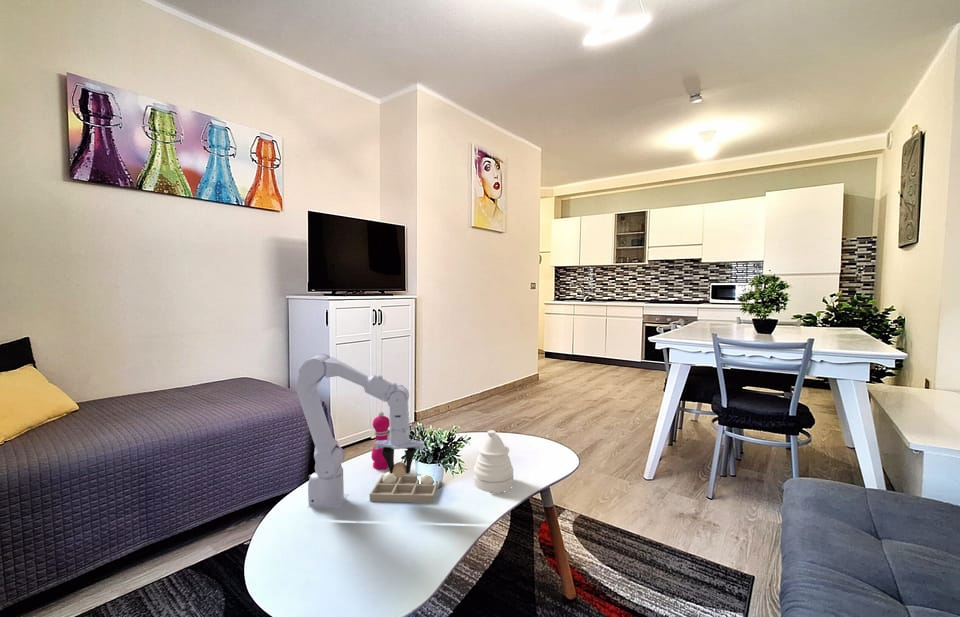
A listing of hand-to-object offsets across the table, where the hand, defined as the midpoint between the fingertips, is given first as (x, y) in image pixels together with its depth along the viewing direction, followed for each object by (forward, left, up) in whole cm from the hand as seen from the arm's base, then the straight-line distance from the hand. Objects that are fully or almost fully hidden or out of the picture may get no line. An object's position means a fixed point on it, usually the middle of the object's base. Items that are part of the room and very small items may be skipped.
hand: (400, 472), depth 125 cm
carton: (+1, +4, -9) cm, 10 cm away
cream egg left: (-5, +7, -8) cm, 12 cm away
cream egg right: (+7, +7, -8) cm, 13 cm away
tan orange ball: (0, 0, -1) cm, 1 cm away
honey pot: (+28, +11, -9) cm, 31 cm away
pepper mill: (-12, +22, -9) cm, 27 cm away
